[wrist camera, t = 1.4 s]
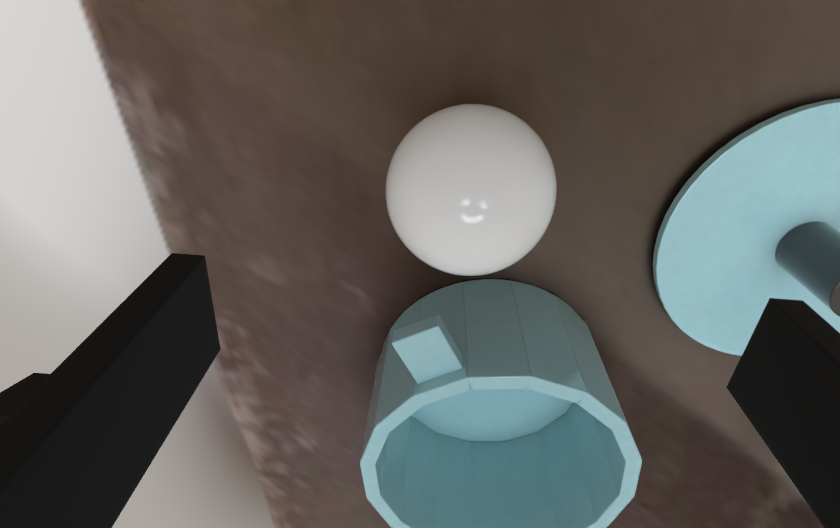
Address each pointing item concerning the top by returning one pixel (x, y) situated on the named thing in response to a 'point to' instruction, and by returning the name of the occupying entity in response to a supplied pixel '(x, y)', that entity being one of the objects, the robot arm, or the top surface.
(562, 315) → the pot
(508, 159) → the lightbulb
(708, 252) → the lid
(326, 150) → the top surface
